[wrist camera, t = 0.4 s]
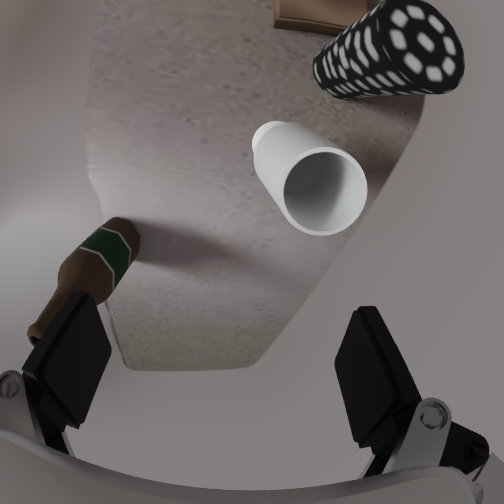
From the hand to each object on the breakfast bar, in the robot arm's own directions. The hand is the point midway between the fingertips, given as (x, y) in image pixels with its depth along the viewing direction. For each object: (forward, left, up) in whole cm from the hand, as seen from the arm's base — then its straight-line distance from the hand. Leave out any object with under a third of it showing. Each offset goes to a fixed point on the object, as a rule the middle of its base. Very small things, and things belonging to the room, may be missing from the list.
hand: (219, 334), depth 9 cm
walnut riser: (-26, +10, -30) cm, 41 cm away
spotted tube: (-15, +13, -31) cm, 36 cm away
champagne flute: (-3, +5, -31) cm, 31 cm away
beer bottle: (+11, -19, -31) cm, 38 cm away
